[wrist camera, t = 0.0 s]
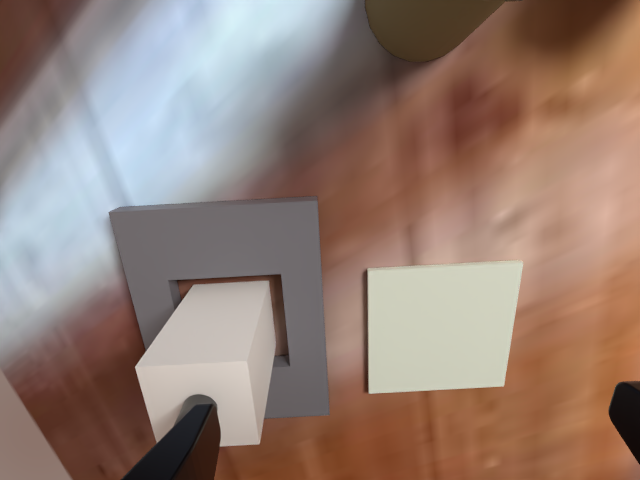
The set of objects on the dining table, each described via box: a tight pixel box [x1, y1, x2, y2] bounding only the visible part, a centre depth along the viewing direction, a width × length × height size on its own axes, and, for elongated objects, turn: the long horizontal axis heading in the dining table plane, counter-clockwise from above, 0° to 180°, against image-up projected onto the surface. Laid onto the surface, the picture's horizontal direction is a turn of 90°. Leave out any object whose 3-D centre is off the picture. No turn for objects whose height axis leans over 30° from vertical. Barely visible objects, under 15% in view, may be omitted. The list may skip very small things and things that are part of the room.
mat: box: [367, 260, 523, 394], centre depth 24 cm, size 10×10×1 cm
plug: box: [135, 281, 276, 446], centre depth 19 cm, size 5×5×10 cm
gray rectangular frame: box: [109, 196, 330, 419], centre depth 23 cm, size 16×12×1 cm
